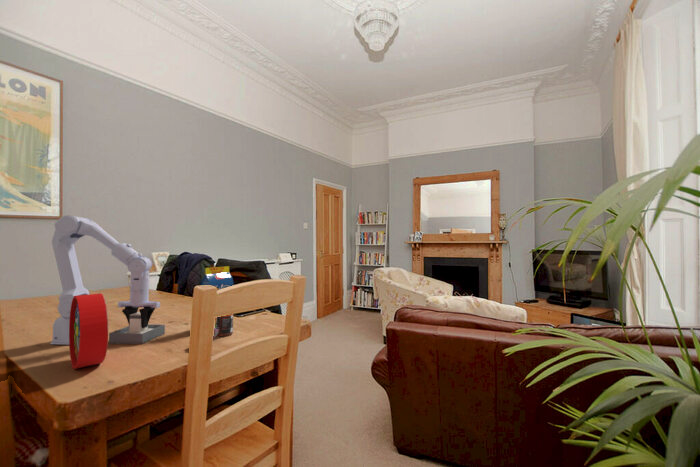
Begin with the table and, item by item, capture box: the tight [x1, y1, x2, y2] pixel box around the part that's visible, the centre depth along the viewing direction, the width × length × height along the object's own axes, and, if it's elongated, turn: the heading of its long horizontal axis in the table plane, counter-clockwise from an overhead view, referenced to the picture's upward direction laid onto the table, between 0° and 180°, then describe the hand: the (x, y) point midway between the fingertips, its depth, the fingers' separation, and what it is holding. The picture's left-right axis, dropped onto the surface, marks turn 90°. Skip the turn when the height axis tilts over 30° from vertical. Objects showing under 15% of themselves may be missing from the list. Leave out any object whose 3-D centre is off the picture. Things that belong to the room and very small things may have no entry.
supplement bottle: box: [216, 313, 234, 337], centre depth 119 cm, size 6×6×11 cm
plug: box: [128, 311, 148, 333], centre depth 114 cm, size 4×4×7 cm
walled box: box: [108, 323, 166, 345], centre depth 113 cm, size 12×12×4 cm
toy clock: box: [68, 292, 109, 370], centre depth 89 cm, size 20×6×20 cm, turn 48°
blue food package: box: [199, 265, 235, 328], centre depth 130 cm, size 6×12×25 cm, turn 153°
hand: (138, 327), depth 113 cm, fingers closed on plug, 4 cm apart
